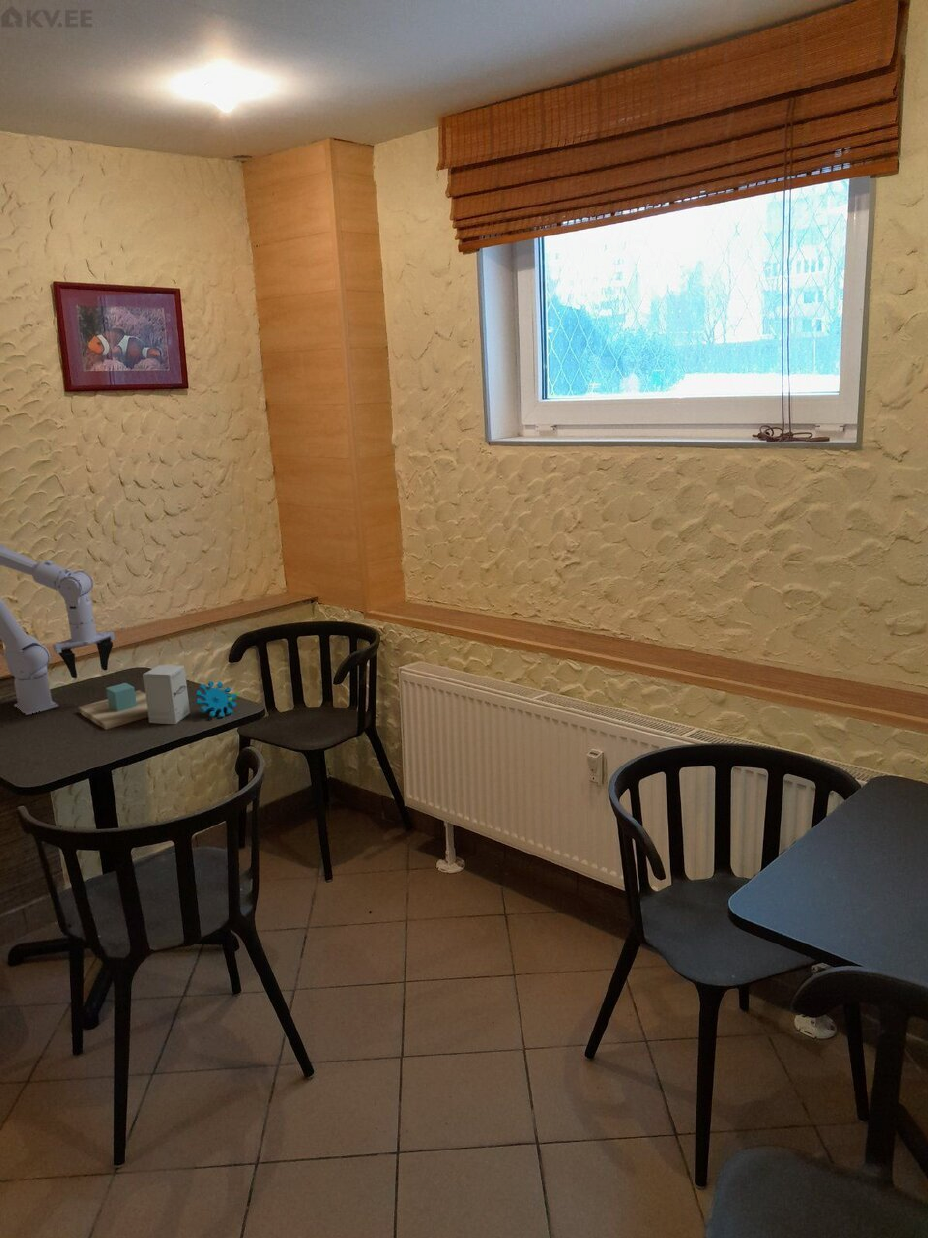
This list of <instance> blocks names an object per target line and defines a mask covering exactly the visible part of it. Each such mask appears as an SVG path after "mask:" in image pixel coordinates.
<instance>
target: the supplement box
mask: <svg viewBox="0 0 928 1238" xmlns="http://www.w3.org/2000/svg"><path fill="white" fill-rule="evenodd" d="M142 677H143V685H144V693H145V695H146V702H147V710H148V717H147V718H148V723H149V724H160V725H161V724H162V725H177V724H178V723H179V722H181V720H182V719H184V718H185V717H187V716H188V715H190V713H191V711H190V710H191V709H190V702H189V694H188V687H187V686H188V685H187V678H186V670H185V665H175V664H174V665H173V664H172V665H171V664H165V665H164V664H157V665H156V666H154V667H153V668H151V669H150V670H148V671H147V672H144V673H143V674H142Z"/></svg>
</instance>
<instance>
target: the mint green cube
mask: <svg viewBox="0 0 928 1238" xmlns="http://www.w3.org/2000/svg"><path fill="white" fill-rule="evenodd" d="M135 691H136V689H135V686H133V685H131V684H129V683H127V682H122V683H120V684H116V685H112V686H108V687H106V695H107V699H108V703H109V707H110V708H112V709H114V710H116V711H117V712H118V711H122V710H125V709H129V708H132V707H135V706H137V702H136V695H135Z"/></svg>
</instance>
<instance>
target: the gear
mask: <svg viewBox="0 0 928 1238" xmlns="http://www.w3.org/2000/svg"><path fill="white" fill-rule="evenodd" d="M214 685H215V681H212V680H211V681H210V680H209V681H208V682H207V685H206V684H201V685H200V686H199V689H200V690H197V691H196V693H195V696H196V697H198V698H197V699H196V700H195V701H196V705H197V706H199V705H202V707H201V708H200V710H201V712H202V713H206V712H207V711H209V710H212V711H209V713H208V716H209V717H211V718H214V717H215V716H216V712H217V711H219V713H218V715H217V716H218V718H220V717H223V718H224V717H225V716H226V715H228V714H229V715H231V714H233V709H234V708H235V707H236V705H237V702H235V701H236V699H238V698H239V696H240V693H239V692H238V691H236V692H235V693H231V694H230V692H231V691H232V689H231V687H230V686H226V687H225V688H224V689H222V688H223V686H224V683H223V682H221V681H218V682H217V684H216V687H215V688H214V687H213V686H214ZM207 686H208V688H209V689H206V688H207ZM202 692H203V693H204V694H203V693H202ZM228 706H229V707H228ZM224 709H225V710H226V715H225V712H224ZM230 713H231V714H230Z"/></svg>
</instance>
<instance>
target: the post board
mask: <svg viewBox="0 0 928 1238" xmlns="http://www.w3.org/2000/svg"><path fill="white" fill-rule="evenodd" d="M135 695H136V702H137V706H135V707H132V708H129V709H125V710H122V711H118V712H117V711H116V710H114V709H112V708H110V707H109V703H108V698H107V699H103V700H100V701H99V700H98V701H96V702H92V703H88V704H86V705H82V706H78V712H79V714H80V713H81V715H82V716H83V717H85V718H86V719H88V720H90V721H92V723H94V724H96V725H97V726H99V727H101V728H102V729H104V730H110V729H112V728H116V727H120V726H122V725H127V724H129V723H132V722H135V721H139V720H142V719H145V718H149V717H148V710H147V702H146V695H145V691H142V690H135Z"/></svg>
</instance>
